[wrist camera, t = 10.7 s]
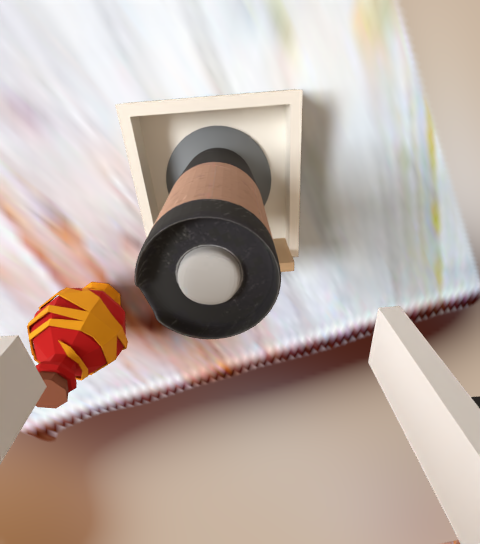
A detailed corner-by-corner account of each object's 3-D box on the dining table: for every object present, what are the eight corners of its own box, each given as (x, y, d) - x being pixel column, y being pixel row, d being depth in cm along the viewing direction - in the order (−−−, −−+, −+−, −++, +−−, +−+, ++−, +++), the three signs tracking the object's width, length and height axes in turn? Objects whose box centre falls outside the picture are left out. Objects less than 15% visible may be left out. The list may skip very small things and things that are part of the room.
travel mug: (268, 165, 33) (312, 251, 15) (236, 228, 36) (243, 357, 19) (198, 130, 31) (161, 184, 14) (171, 200, 34) (114, 314, 17)
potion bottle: (152, 320, 44) (121, 418, 31) (82, 335, 45) (23, 436, 32) (121, 254, 39) (68, 339, 26) (43, 272, 40) (-47, 363, 27)
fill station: (127, 102, 31) (103, 106, 25) (294, 89, 31) (310, 90, 25) (160, 251, 39) (147, 281, 33) (291, 241, 39) (303, 270, 33)
